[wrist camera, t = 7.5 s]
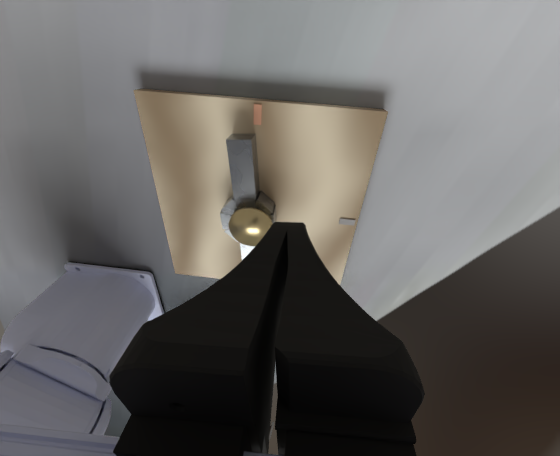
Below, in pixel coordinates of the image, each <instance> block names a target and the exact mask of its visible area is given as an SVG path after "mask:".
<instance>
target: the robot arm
mask: <svg viewBox="0 0 560 456" xmlns="http://www.w3.org/2000/svg"><path fill="white" fill-rule="evenodd" d="M64 267H65V269H66V271H67V272H66V273H65V274H63V275H62V276H61V277H60V278H59V279H58V280H57V281H55V282H54V283H53V284H52V285H51V286H50V287H48V288H47V289H46V290H45V291H44V292H43V293H41V294H40V295H39V296H38V297H37V298H36V299H35V300H33V301H32V302H31V303H30V304H29V305H28V306H26V307H25V308H24V309H23V310H22V311H21V312H20V313H18V314H17V315H16V316H15V318H14V319H13V320H12V321H11V322H10V324H9V325H8V327H7V329H6V331H5V332H4V335H3V337H2V340H1V352H0V456H416V452H415V449H414V445H413V444H415V443H416V436H415V433H414V429H413V426H412V422H411V419H412V418H413V416H414V414H415V413H416V411H417V409H418V408H419V406H420V405H421V403H422V401H423V398H424V395H425V393H424V390H423V386H422V383H421V379H420V377H419V374H418V372H417V369H416V367H415V366H414V363H413V361H412V359H411V357H410V355H409V353H408V351H407V349H406V348H405V346H404V344H403V342H402V341H401V340H400V339H398V338H397V337H396V336H395V335H393V334H392V333H391V332H389V331H388V330H387V329H385V328H384V327H383V326H382V325H380V324H379V323H378V322H376V321H375V320H374V319H373V318H372V317H371V316H369V315H368V314H367V313H366V312H365V311H364V310H363V309H362V308H361V307H360V306H359V305H358V304H357V303H356V302H355V301H354V300H353V299H352V298H351V297H350V296H349V295H348V294H347V293H346V292H345V291H344V290H343V288H342V287H341V286H340V285H339V284H338V283H337V281H336V280H335V279H334V278H333V276H332V275H331V274H330V272H329V271H328V269H327V268H326V267H325V265H324V263H323V262H322V260H321V259H320V257H319V255H318V254H317V252H316V250H315V248H314V246H313V244H312V242H311V240H310V238H309V235H308V233H307V229H306V225H305V224H304V223H302V222H274V223H273V224H272V225H271V227H270V228H269V230H268V231H267V232H266V234H265V235H264V236H263V238H262V239H261V240H260V241H259V243H258V244H257V245H256V246H255V247H254V248H253V250H252V251H251V252H250V253H249V254H248V255H247V256H246V257H245V258H244V259H243V260H242V261H241V262H240V263H239V264H238V265H237V266H236V267H235V268H233V269H232V270H231V271H230V272H229V273H228V274H226V275H225V276H224V277H223V278H221V279H220V280H219V281H217V282H216V283H215V284H213V285H212V286H210V287H209V288H208V289H206V290H205V291H203V292H202V293H200V294H198V295H197V296H195V297H194V298H192V299H190V300H188V301H187V302H185V303H183V304H182V305H180V306H178V307H176V308H174V309H172V310H170V311H168V312H166V313H164V311H163V307H162V304H161V301H160V297H159V294H158V290H157V287H156V284H155V280H154V277H153V274H152V273H150V272H147V271H139V270H130V269H122V268H113V267H105V266H96V265H88V264H79V263H71V262H68V263H66V264H65V265H64ZM147 320H150V321H148V322H147ZM275 360H276V375H277V390H278V400H277V411H276V422H275V430H277V442H278V453H279V455H273V454H268V448H269V435H270V421H271V407H272V396H273V383H274V372H275ZM109 381H110V384H109ZM112 389H113V391H114V393H115V394H116V395H117V397H118V398H119V399H120V400H121V402H122V403H123V404H124V405H125V407H126V408H127V409H128V410H129V412H130V413H131V416H130V418H129V420H128V422H127V424H126V426H125V428H124V430H123V432H122V434H121V436H120V437H114V436H105V435H104V433H105V431H106V428H107V426H108V423H109V420H110V417H111V405H112V404H111V400H110V399H109V398H107V396H108V394H109V393H110V391H111V390H112Z"/></svg>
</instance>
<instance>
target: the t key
mask: <svg viewBox="0 0 560 456" xmlns="http://www.w3.org/2000/svg"><path fill="white" fill-rule="evenodd" d="M226 145H227V152H228V160H229V167H230V175H231V182H232V190H233V195H232V196H231V197H230V198H229V199H228V200H227V201H226V203H225V204H224V206H223V208H222V209H221V212H220V217H221V223H222V228H223V229H225V231H224V232H225V233H227V234H228V235H229V236H231V237H232V238H233V239H234V240H236V239H235V238H234V237H233V236H232V235H231V233H230V230H229V220H230V218H231V216H232V214H233V213H234V212H235V211H236V210H238V209H239V208H243V207H254V208H258V209H260V210H262V211H264V212H265V213H266V214H267V215H268V216H269V217H270V219H271V221H272V223H274V222H276V205H274V203H275V202H274V201H273V200H272V199H271V198H270V197H269V196H267V195H266V194H265V193H264V192H263V191H262V190H261V191H260V186H259V172H258V157H257V143H256V134H231V135H230V136H229V137H228V138H227V139H226ZM259 191H260V192H259ZM236 241H237V240H236ZM237 242H238V241H237ZM254 247H255V246H248V245H244V244H242V243H240V249H241V257H242V260H243V259H244V258H245V257H246V256H247V255H248V254H249V253H250V252H251V251H252V250H253V248H254Z"/></svg>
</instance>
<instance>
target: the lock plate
mask: <svg viewBox="0 0 560 456" xmlns="http://www.w3.org/2000/svg"><path fill="white" fill-rule="evenodd" d="M134 94H135V98H136V103H137V107H138V112H139V116H140V120H141V125H142V129H143V134H144V138H145V142H146V147H147V151H148V155H149V160H150V164H151V169H152V173H153V177H154V182H155V186H156V191H157V195H158V199H159V204H160V208H161V213H162V217H163V221H164V226H165V230H166V235H167V239H168V243H169V248H170V252H171V256H172V261H173V265H174V270H175V273H176V274H184V275H193V276H201V277H209V278H218V279H221V278H223V277H224V276H225V275H226V274H228V273H229V272H230V271H231V270H232V269H233V268H235V267H236V266H237V265H238V264H239V263H240V262H241V261H242V257H241V249H240V243H242V244H244V245H248V246H256V245H257V244H258V243H259V241H260V240H261V239H262V238H263V236H264V235H265V234H266V232H267V231H268V230H269V228H270V227H271V225H272V224H273V223H272V221H271V219H270V217H269V216H268V215H267V214H266V213H265V212H264V211H262V210H260V209H258V208H254V207H243V208H239V209H238V210H236V211H235V212H234V213H233V214H232V216H231V218H230V220H229V230H230V233H231V235H232V236H233V237H234V238H235V239H236V240H237V241H238V242H237V241H236V240H234V239H233V238H232V237H231V236H229V235H228V234H227V233H225V232H224V231H225V229H223V228H222V223H221V217H220V212H221V209H222V208H223V206H224V204H225V203H226V201H227V200H228V199H229V198H230V197H231V196H232V195H233V190H232V182H231V175H230V167H229V160H228V152H227V145H226V139H227V138H228V137H229V136H230V135H231V134H256V143H257V157H258V172H259V186H260V191H261V190H262V191H263V192H264V193H265V194H266V195H267V196H269V197H270V198H271V199H272V200H273V201H274V202H275V203H274V205H276V222H302V223H304V224H305V225H306V229H307V233H308V235H309V238H310V240H311V242H312V244H313V246H314V248H315V250H316V252H317V254H318V255H319V257H320V259H321V260H322V262H323V263H324V265H325V267H326V268H327V269H328V271H329V272H330V274H331V275H332V276H333V278H334V279H335V280H336V281H337V283H338V284H339V285H340V283H341V279H342V275H343V272H344V268H345V265H346V261H347V257H348V254H349V250H350V247H351V243H352V240H353V236H354V232H355V229H356V225H357V222H358V218H359V214H360V211H361V207H362V204H363V200H364V197H365V193H366V189H367V186H368V182H369V179H370V175H371V171H372V168H373V164H374V161H375V157H376V154H377V150H378V146H379V143H380V139H381V136H382V132H383V128H384V125H385V121H386V118H387V114H388V111H386V110H384V109H375V108H363V107H351V106H339V105H328V104H316V103H304V102H292V101H281V100H269V99H257V98H245V97H234V96H222V95H210V94H198V93H187V92H175V91H163V90H151V89H137V90H134ZM260 191H259V192H260Z"/></svg>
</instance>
